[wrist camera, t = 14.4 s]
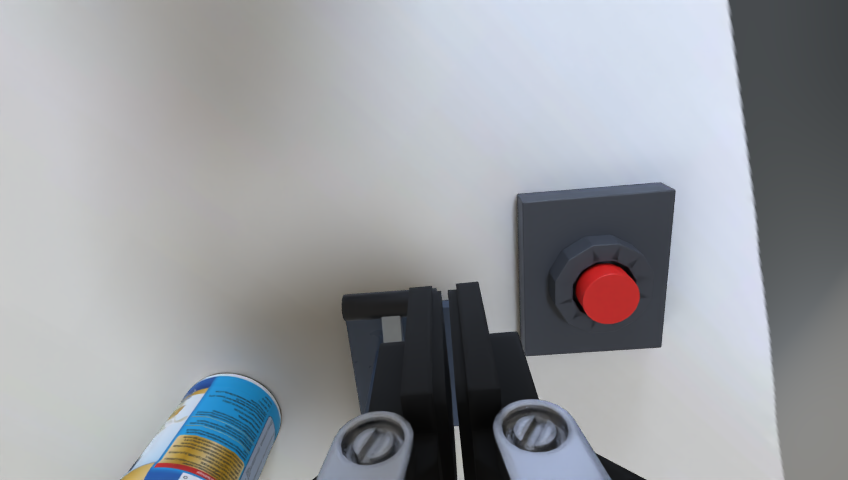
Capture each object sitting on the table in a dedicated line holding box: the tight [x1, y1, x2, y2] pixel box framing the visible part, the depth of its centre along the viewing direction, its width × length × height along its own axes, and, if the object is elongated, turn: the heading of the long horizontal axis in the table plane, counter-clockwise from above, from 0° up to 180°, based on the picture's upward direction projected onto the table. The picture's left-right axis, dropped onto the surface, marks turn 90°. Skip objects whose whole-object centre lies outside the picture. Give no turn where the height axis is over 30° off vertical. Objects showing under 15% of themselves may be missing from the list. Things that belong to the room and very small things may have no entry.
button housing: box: [517, 182, 675, 356], centre depth 34 cm, size 12×10×4 cm
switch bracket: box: [346, 300, 459, 426], centre depth 33 cm, size 11×9×13 cm
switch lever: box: [342, 288, 437, 343], centre depth 29 cm, size 12×6×2 cm, turn 6°
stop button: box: [576, 263, 640, 324], centre depth 32 cm, size 4×4×2 cm
